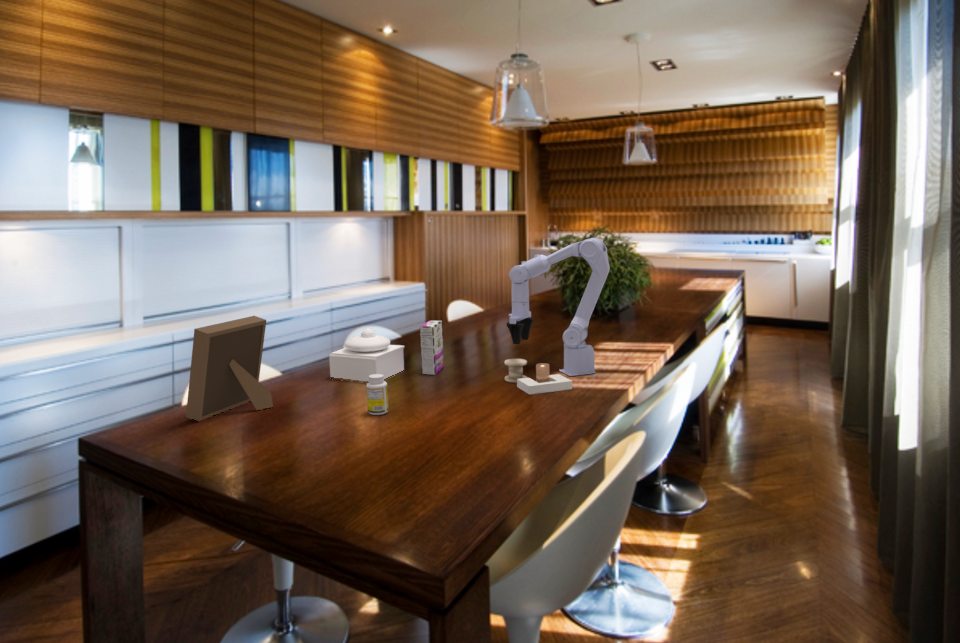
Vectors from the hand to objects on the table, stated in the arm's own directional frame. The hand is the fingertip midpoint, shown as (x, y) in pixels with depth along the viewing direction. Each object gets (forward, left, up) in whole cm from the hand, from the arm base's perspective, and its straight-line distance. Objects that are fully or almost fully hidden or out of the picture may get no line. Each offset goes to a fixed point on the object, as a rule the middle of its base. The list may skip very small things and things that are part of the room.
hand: (520, 341), depth 217 cm
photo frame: (+90, +11, -10) cm, 91 cm away
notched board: (+3, +25, -9) cm, 26 cm away
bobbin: (+7, +12, -9) cm, 17 cm away
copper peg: (+3, +23, -9) cm, 25 cm away
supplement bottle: (+54, +28, -10) cm, 62 cm away
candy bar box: (+28, -10, -10) cm, 31 cm away
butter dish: (+49, -14, -10) cm, 52 cm away
